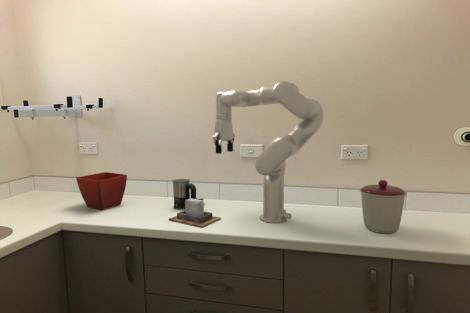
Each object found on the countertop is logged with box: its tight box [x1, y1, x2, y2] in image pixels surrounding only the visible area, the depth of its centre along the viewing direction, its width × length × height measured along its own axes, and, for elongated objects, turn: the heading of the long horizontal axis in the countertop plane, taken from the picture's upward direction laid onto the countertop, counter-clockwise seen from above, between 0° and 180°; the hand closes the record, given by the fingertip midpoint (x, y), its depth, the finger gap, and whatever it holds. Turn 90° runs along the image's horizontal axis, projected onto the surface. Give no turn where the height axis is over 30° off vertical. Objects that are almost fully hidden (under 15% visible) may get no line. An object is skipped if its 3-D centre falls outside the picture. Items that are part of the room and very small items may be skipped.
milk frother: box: [172, 178, 204, 210], centre depth 183 cm, size 14×16×15 cm
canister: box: [359, 179, 408, 234], centre depth 141 cm, size 18×18×21 cm
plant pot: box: [75, 171, 128, 211], centre depth 184 cm, size 19×19×17 cm
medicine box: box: [184, 198, 205, 217], centre depth 158 cm, size 8×4×9 cm, turn 57°
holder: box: [168, 210, 222, 229], centre depth 158 cm, size 20×14×3 cm
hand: (224, 152), depth 167 cm, fingers open, 9 cm apart
